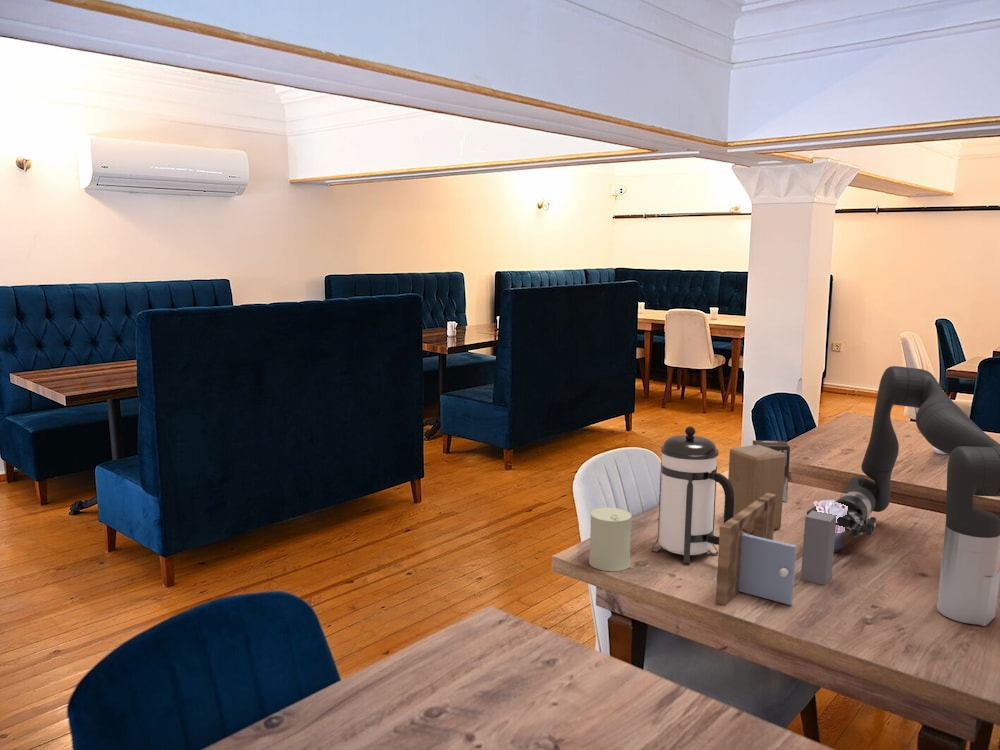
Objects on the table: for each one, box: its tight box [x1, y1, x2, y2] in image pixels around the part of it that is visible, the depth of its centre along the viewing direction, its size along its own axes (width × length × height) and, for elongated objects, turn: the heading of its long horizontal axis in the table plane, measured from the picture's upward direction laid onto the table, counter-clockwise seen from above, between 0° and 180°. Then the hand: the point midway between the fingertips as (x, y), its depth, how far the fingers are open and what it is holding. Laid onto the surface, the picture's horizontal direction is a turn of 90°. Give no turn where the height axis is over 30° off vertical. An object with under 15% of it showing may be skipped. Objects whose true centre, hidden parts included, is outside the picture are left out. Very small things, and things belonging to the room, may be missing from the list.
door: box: [739, 532, 797, 606], centre depth 159 cm, size 12×2×12 cm, turn 53°
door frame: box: [715, 493, 776, 606], centre depth 166 cm, size 27×2×16 cm, turn 143°
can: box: [588, 507, 633, 572], centre depth 176 cm, size 9×9×12 cm
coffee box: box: [752, 440, 791, 503], centre depth 223 cm, size 9×6×16 cm
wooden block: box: [727, 444, 786, 535], centre depth 200 cm, size 10×10×20 cm
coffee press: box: [651, 426, 734, 565], centre depth 180 cm, size 17×16×30 cm
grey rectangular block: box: [800, 511, 837, 586], centre depth 169 cm, size 5×5×14 cm
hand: (832, 528), depth 177 cm, fingers open, 8 cm apart
